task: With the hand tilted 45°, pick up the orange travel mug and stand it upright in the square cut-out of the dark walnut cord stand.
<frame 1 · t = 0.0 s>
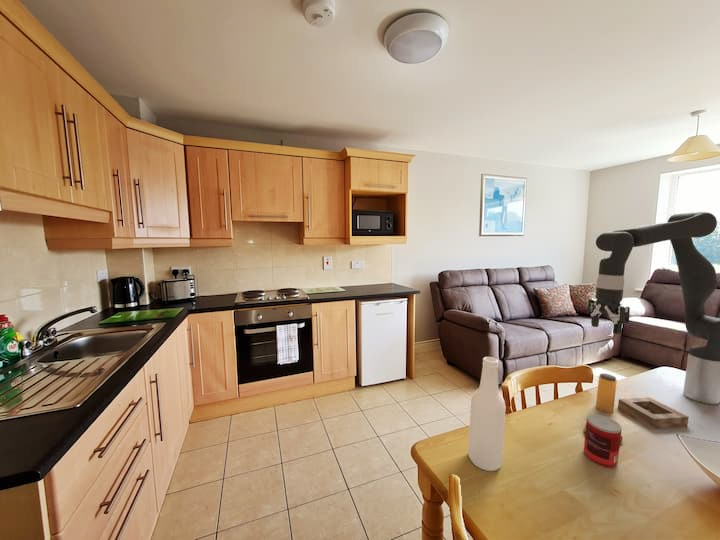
hand: (605, 330, 108), 29 cm above the table, tool pointing down, fingers open, 8 cm apart
pastry: (599, 435, 94), on the table
alcohol: (484, 460, 83), on the table
orange travel mug: (604, 408, 108), on the table
canned food: (599, 458, 84), on the table
cord stand: (650, 416, 103), on the table
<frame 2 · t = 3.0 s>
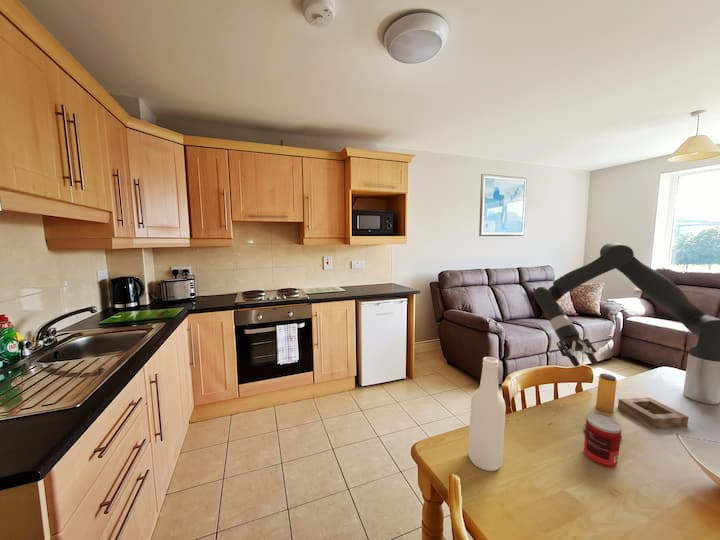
hand: (586, 365, 115), 13 cm above the table, tool tilted 45°, fingers open, 8 cm apart
nothing on the table moved.
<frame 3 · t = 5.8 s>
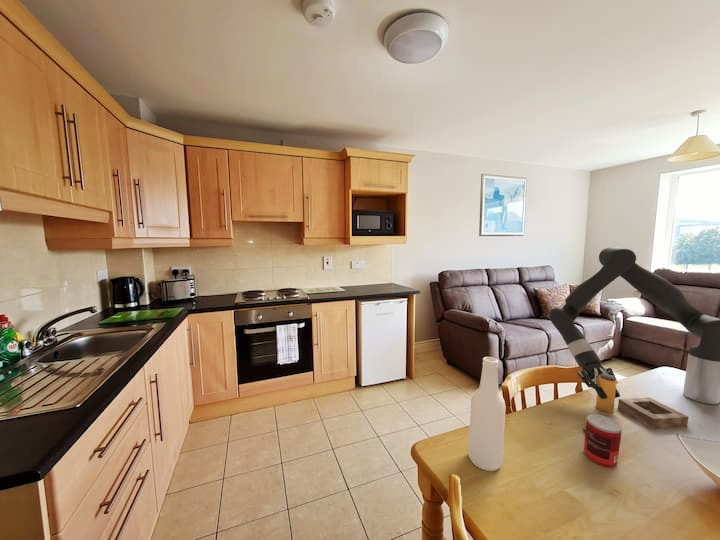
hand: (611, 397, 106), 5 cm above the table, tool tilted 45°, fingers closed on orange travel mug, 5 cm apart
orange travel mug: (604, 408, 108), on the table, touching gripper
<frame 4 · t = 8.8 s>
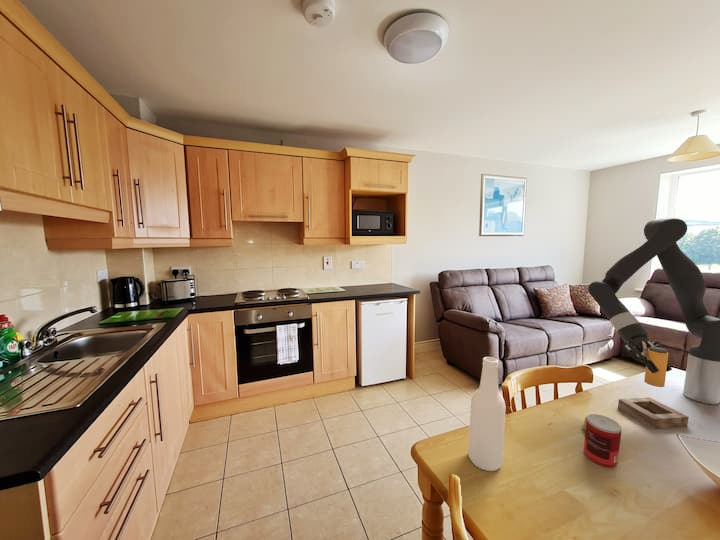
hand: (662, 371, 100), 18 cm above the table, tool tilted 45°, fingers closed on orange travel mug, 5 cm apart
orange travel mug: (654, 383, 102), point 12 cm above the table, touching gripper
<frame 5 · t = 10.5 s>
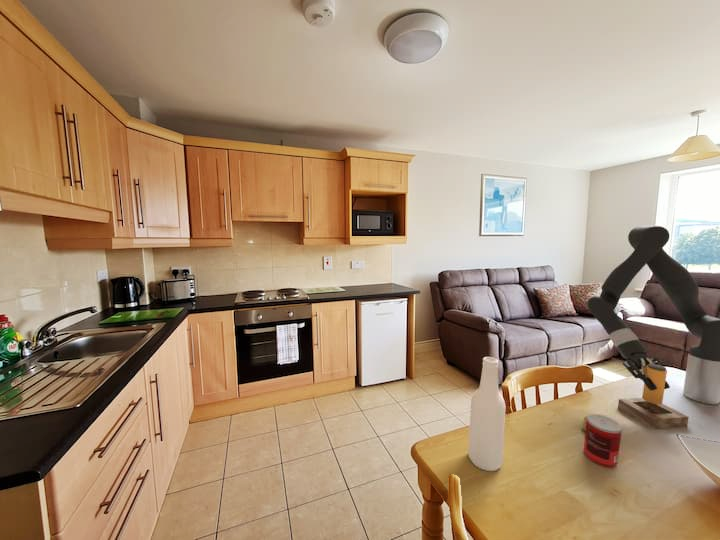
hand: (660, 388, 100), 11 cm above the table, tool tilted 45°, fingers closed on orange travel mug, 5 cm apart
orange travel mug: (652, 400, 103), point 6 cm above the table, touching gripper
when the fingers open (7 cm above the table, at t = 12.1 s): orange travel mug drops 1 cm, resting in cord stand.
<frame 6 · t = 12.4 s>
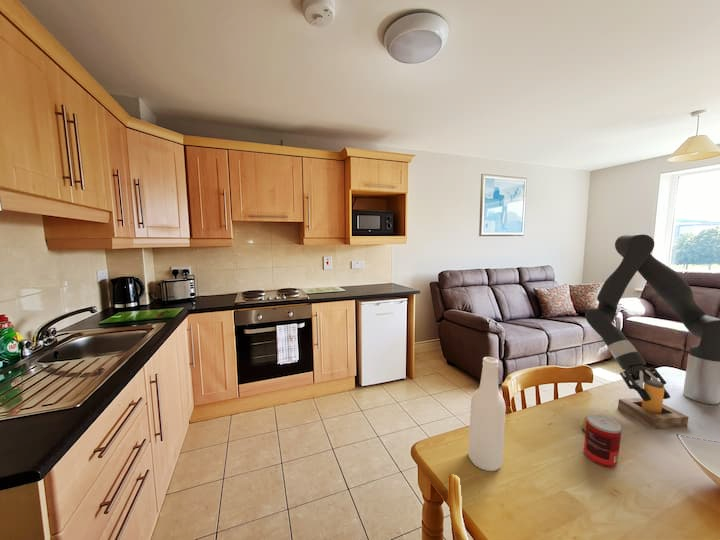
hand: (657, 399, 101), 7 cm above the table, tool tilted 45°, fingers open, 8 cm apart
orange travel mug: (650, 416, 104), resting in cord stand
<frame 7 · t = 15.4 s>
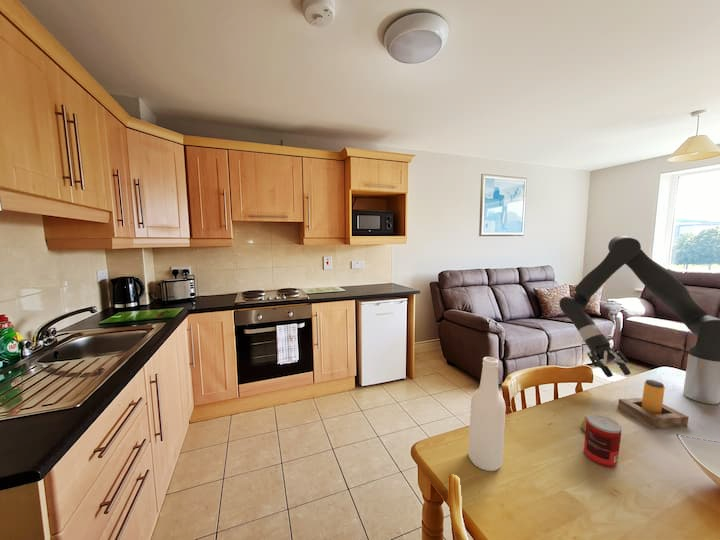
hand: (619, 375, 114), 9 cm above the table, tool tilted 45°, fingers open, 8 cm apart
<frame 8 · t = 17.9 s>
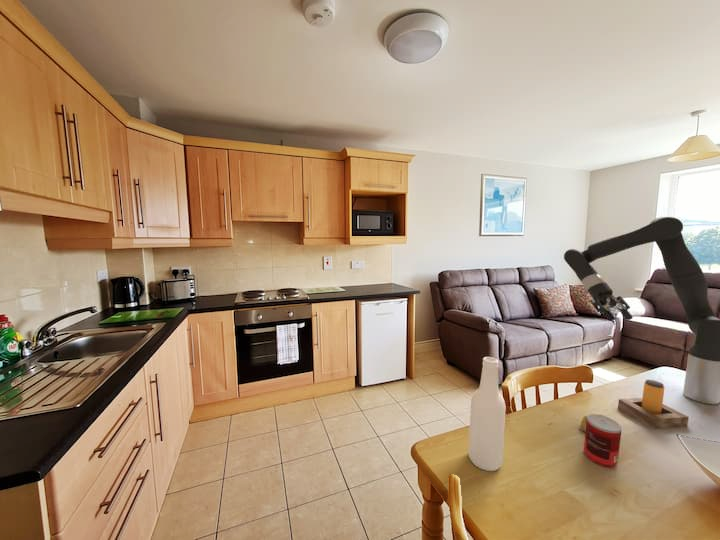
hand: (621, 319, 117), 31 cm above the table, tool tilted 45°, fingers open, 8 cm apart
at the end: orange travel mug 0.1 cm off-centre on the cord stand, point 0.0 cm above the cord stand's base; orange travel mug tilted 0°; the gripper is holding nothing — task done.
